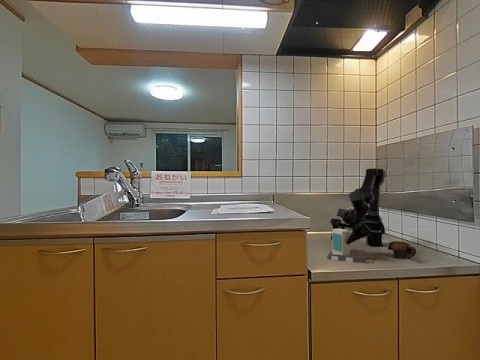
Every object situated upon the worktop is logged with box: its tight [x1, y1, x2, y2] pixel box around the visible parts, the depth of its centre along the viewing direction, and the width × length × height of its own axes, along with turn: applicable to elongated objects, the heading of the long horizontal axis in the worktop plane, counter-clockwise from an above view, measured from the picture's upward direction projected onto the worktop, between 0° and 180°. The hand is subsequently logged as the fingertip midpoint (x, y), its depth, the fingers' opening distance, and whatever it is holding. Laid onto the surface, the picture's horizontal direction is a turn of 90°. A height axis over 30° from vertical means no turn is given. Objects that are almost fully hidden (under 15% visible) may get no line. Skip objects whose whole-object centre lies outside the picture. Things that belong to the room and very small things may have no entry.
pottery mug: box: [387, 240, 417, 260], centre depth 119 cm, size 12×10×8 cm
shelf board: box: [326, 250, 375, 264], centre depth 119 cm, size 12×18×1 cm
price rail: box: [327, 253, 367, 264], centre depth 114 cm, size 1×14×3 cm, turn 65°
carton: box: [331, 228, 351, 256], centre depth 122 cm, size 4×6×11 cm
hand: (338, 241), depth 121 cm, fingers open, 9 cm apart
